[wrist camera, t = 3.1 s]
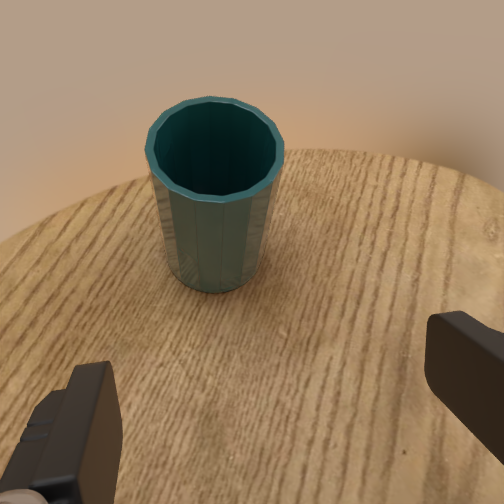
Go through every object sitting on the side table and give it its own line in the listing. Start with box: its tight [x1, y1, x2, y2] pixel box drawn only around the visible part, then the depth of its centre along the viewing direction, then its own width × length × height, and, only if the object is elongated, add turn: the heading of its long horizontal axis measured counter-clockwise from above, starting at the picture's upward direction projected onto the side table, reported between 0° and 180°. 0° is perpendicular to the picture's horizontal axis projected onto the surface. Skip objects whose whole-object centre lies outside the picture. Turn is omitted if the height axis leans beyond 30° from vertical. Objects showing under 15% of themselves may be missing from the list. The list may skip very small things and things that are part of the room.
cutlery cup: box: [145, 96, 284, 293], centre depth 25 cm, size 6×6×10 cm
